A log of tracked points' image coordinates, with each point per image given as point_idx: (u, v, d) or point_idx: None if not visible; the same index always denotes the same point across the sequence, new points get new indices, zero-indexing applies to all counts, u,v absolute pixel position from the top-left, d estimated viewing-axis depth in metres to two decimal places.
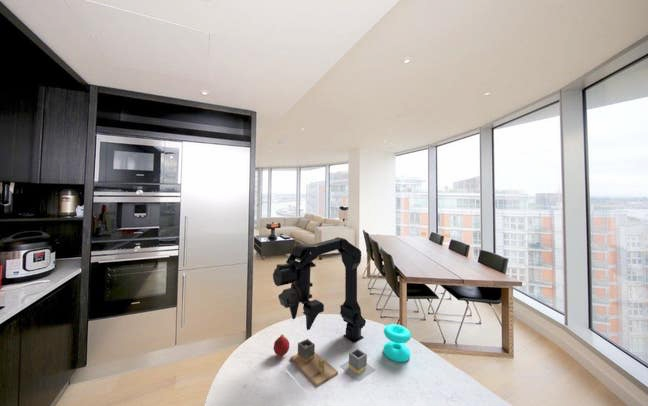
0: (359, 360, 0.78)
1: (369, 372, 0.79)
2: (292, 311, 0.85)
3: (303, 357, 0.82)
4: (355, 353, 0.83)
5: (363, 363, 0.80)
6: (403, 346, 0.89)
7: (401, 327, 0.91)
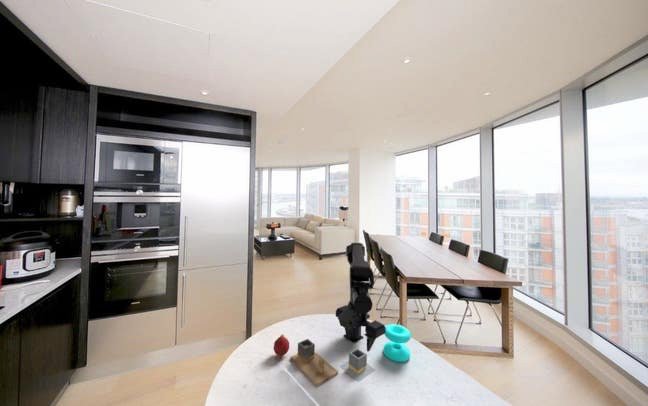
0: (359, 360, 0.78)
1: (369, 372, 0.79)
2: (347, 330, 0.84)
3: (303, 357, 0.82)
4: (355, 353, 0.83)
5: (363, 363, 0.80)
6: (403, 346, 0.89)
7: (401, 327, 0.91)
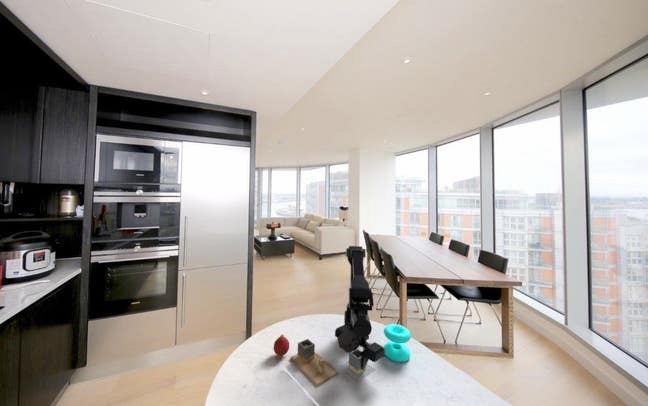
0: (359, 360, 0.78)
1: (369, 372, 0.79)
2: None
3: (303, 357, 0.82)
4: (355, 353, 0.83)
5: None
6: (403, 346, 0.89)
7: (401, 327, 0.91)
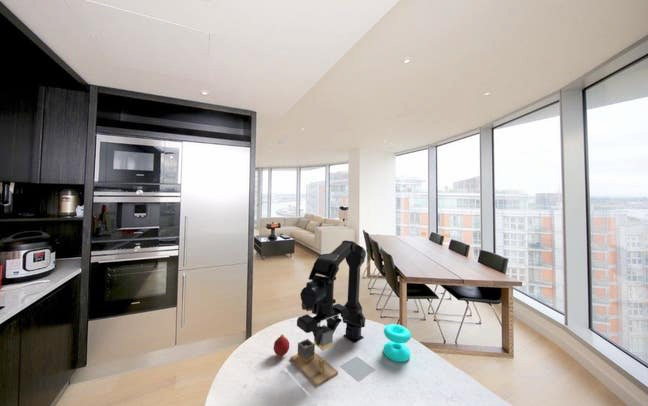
0: None
1: (369, 372, 0.79)
2: None
3: (303, 357, 0.82)
4: (328, 331, 0.78)
5: None
6: (403, 346, 0.89)
7: (401, 327, 0.91)
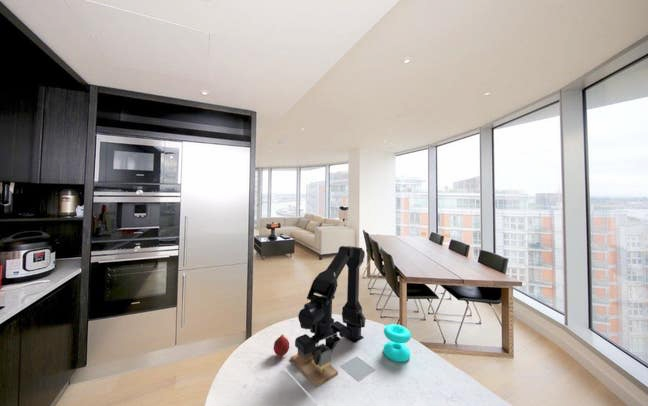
0: None
1: (369, 372, 0.79)
2: None
3: (303, 357, 0.82)
4: (326, 350, 0.78)
5: None
6: (403, 346, 0.89)
7: (401, 327, 0.91)
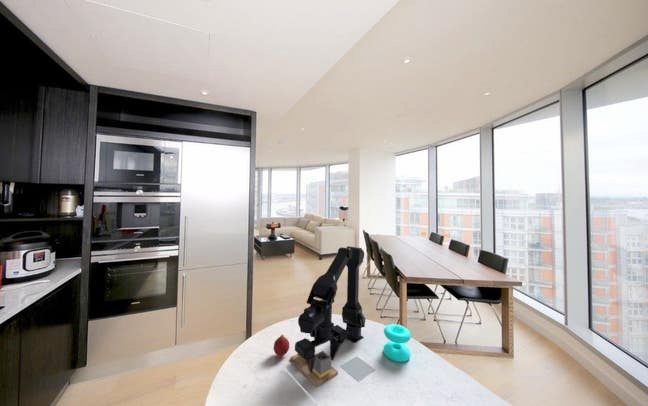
0: None
1: (369, 372, 0.79)
2: (330, 350, 0.81)
3: None
4: (326, 358, 0.78)
5: (317, 367, 0.76)
6: (403, 346, 0.89)
7: (401, 327, 0.91)
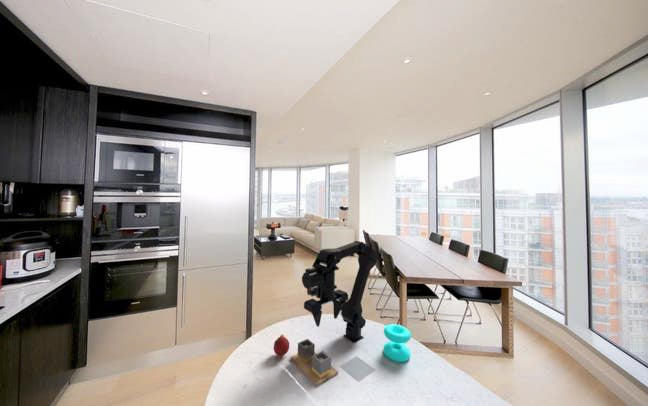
0: (313, 358, 0.78)
1: (369, 372, 0.79)
2: (334, 310, 0.93)
3: (303, 357, 0.82)
4: (326, 358, 0.78)
5: (317, 367, 0.76)
6: (403, 346, 0.89)
7: (401, 327, 0.91)
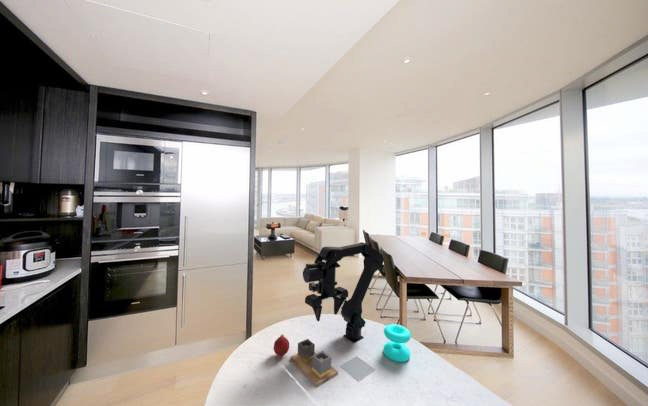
0: (313, 358, 0.78)
1: (369, 372, 0.79)
2: (334, 306, 0.96)
3: (303, 357, 0.82)
4: (326, 358, 0.78)
5: (317, 367, 0.76)
6: (403, 346, 0.89)
7: (401, 327, 0.91)
